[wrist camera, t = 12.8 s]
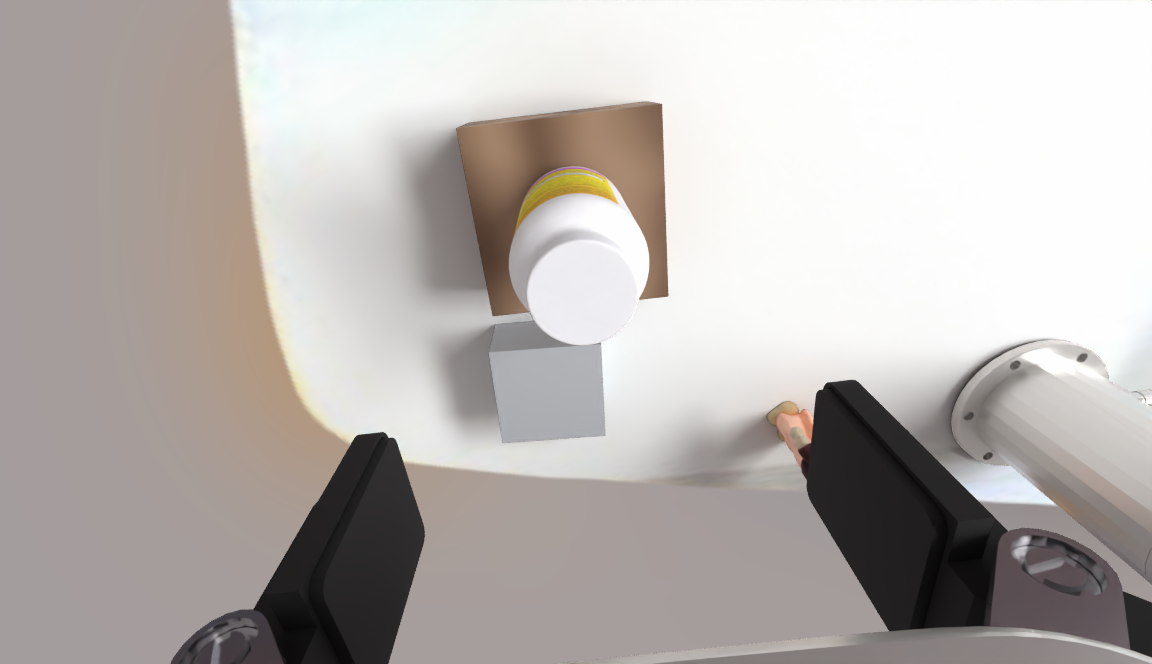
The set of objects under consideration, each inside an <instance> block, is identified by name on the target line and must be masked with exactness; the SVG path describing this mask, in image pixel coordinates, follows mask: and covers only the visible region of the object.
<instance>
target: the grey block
mask: <svg viewBox="0 0 1152 664" xmlns="http://www.w3.org/2000/svg"><path fill="white" fill-rule="evenodd" d="M489 359H490V365H491V372H492V378H493V384H494V391H495V397H496V404H497V410H498V416H499V423H500V429H501V436H502V442H503V443H511V442H525V441H539V440H552V439H566V438H580V437H594V436H605V417H604V397H603V376H602V355H601V342H600V343H597V344H591V345H572V344H567V343H563V342H561V341H558V340H556V339H554V338H552V337H551V336H549V335H548V334H546V333H545V332H544V331H543V330H542V329H540V327H539V326H538V325H537V324H536V323H535V321H530V322H516V323H502V324H496V325H495V329H494V333H493V337H492V341H491V345H490V348H489Z"/></svg>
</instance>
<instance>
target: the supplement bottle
mask: <svg viewBox="0 0 1152 664" xmlns="http://www.w3.org/2000/svg"><path fill="white" fill-rule="evenodd" d="M509 273H510V278H511V282H512V285H513V288H514V290H515V292H516V295H517V296H518V298H519V300H520V301H521V303H522V304H523V305H524V307H525V308H526V309H527V310H528V311H529V312H530V314H531V316H532V318H533V320H534V321H535V323H536V324H537V325H538V326H539V327H540V329H542V330H543V331H544V332H545V333H546V334H548V335H549V336H551V337H552V338H554V339H556V340H558V341H561V342H563V343H567V344H572V345H591V344H597V343H600V342H603V341H605V340H607V339H609V338H611V337H613V336H615V335H616V334H618V333H619V332H620V331H621V330H622V329H623V328H624V327H625V326H626V325H627V324H628V323H629V321H630V320H631V318H632V317H633V315H634V313H635V310H636V308H637V305H638V300H639V298H640V296H641V294H642V292H643V290H644V288H645V285H646V282H647V278H648V273H649V252H648V247H647V243H646V240H645V238H644V235H643V233H642V231H641V229H640V228H639V226H638V224H637V223H636V221H635V219H634V218H633V216H632V214H631V212H630V210H629V209H628V207H627V205H626V204H625V202H624V200H623V198H622V196H621V194H620V193H619V191H618V190H617V188H616V187H615V186H614V185H613V183H612V182H611V181H610V180H608V179H607V178H606V177H605V176H603V175H602V174H600V173H598V172H596V171H594V170H592V169H589V168H585V167H579V166H569V167H562V168H558V169H555V170H553V171H550V172H548V173H547V174H545V175H543V176H542V177H541V178H539V179H538V180H537V181H536V182H535V183H534V184H533V185H532V186H531V188H530V189H529V190H528V192H527V194H526V196H525V198H524V200H523V203H522V206H521V209H520V213H519V217H518V221H517V225H516V229H515V233H514V237H513V241H512V244H511V249H510V255H509Z"/></svg>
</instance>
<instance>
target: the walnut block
mask: <svg viewBox="0 0 1152 664" xmlns="http://www.w3.org/2000/svg"><path fill="white" fill-rule="evenodd" d="M456 130H457V136H458V141H459V146H460V151H461V156H462V161H463V166H464V171H465V177H466V182H467V187H468V192H469V197H470V202H471V207H472V213H473V218H474V223H475V228H476V233H477V238H478V243H479V249H480V254H481V259H482V264H483V269H484V274H485V279H486V285H487V290H488V295H489V300H490V305H491V310H492V315H493V316H499V315H508V314H516V313H525V312H529V311H528V310H527V309H526V308H525V307H524V305H523V304H522V303H521V301H520V300H519V298H518V296H517V295H516V292H515V290H514V288H513V285H512V282H511V278H510V273H509V255H510V249H511V244H512V241H513V237H514V233H515V229H516V225H517V221H518V217H519V213H520V209H521V206H522V203H523V200H524V198H525V196H526V194H527V192H528V190H529V189H530V188H531V186H532V185H533V184H534V183H535V182H536V181H537V180H538V179H539V178H541V177H542V176H543V175H545V174H547V173H548V172H550V171H553V170H555V169H558V168H562V167H569V166H579V167H585V168H589V169H592V170H594V171H596V172H598V173H600V174H602V175H603V176H605V177H606V178H607V179H608V180H610V181H611V182H612V183H613V185H614V186H615V187H616V188H617V190H618V191H619V193H620V194H621V196H622V198H623V200H624V202H625V204H626V205H627V207H628V209H629V210H630V212H631V214H632V216H633V218H634V219H635V221H636V223H637V224H638V226H639V228H640V229H641V231H642V233H643V235H644V238H645V240H646V243H647V247H648V252H649V273H648V278H647V282H646V285H645V288H644V290H643V292H642V294H641V296H640V298H639V300H641V299H650V298H658V297H667V296H668V274H667V243H666V212H665V182H664V151H663V120H662V104H659V103H654V102H639V103H631V104H622V105H614V106H606V107H597V108H589V109H580V110H572V111H563V112H555V113H547V114H538V115H530V116H521V117H513V118H505V119H496V120H488V121H479V122H471V123H467V124H465V125H463V126H461V127H458V128H456Z"/></svg>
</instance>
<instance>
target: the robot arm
mask: <svg viewBox="0 0 1152 664" xmlns="http://www.w3.org/2000/svg"><path fill="white" fill-rule="evenodd" d="M1151 406H1152V390H1142V391H1134V392H1130V391H1128V390H1126V389H1124V388H1122V387H1121V386H1119V385H1117V384H1115V383H1113V382H1111V381H1109V375H1108V372H1107V369H1106V366H1105V364H1104V363H1103V361H1102V360H1101V358H1100V357H1099V356H1097V355H1096V354H1095V353H1094V352H1092V351H1091V350H1089V349H1087V348H1085V347H1083V346H1081V345H1079V344H1076V343H1072V342H1069V341H1065V340H1045V341H1037V342H1033V343H1029V344H1025V345H1022V346H1019V347H1017V348H1015V349H1012V350H1010V351H1007V352H1006V353H1004V354H1002V355H1000V356H999V357H997V358H995V359H994V360H992V361H991V362H990V363H988V364H987V365H986V366H984V367H983V368H982V369H980V370H979V371H978V372H977V373H976V374H975V375H974V376H973V377H972V378H971V379H970V381H969V382H968V383H967V385H966V386H965V387H964V389H963V390H962V391H961V393H960V395H959V397H958V399H957V401H956V403H955V406H954V409H953V413H952V422H951V426H952V432H953V436H954V438H955V440H956V442H957V443H958V444H959V445H960V447H961V448H962V449H963V450H964V451H966V452H967V453H968V454H969V455H970V456H972V457H973V458H974V459H976V460H978V461H980V462H983V463H986V464H991V465H998V466H1011V467H1012V468H1014V469H1015V470H1016V471H1017V472H1018V473H1020V474H1021V475H1022V476H1023V477H1024V478H1026V479H1027V480H1028V481H1029V482H1030V483H1031V484H1033V485H1034V486H1035V487H1036V488H1037V489H1039V490H1040V491H1041V492H1042V493H1043V494H1045V495H1046V496H1047V497H1048V498H1049V499H1050V500H1052V501H1053V502H1054V503H1055V504H1056V505H1058V506H1059V507H1060V508H1061V509H1062V510H1064V511H1065V512H1066V513H1067V514H1068V515H1070V516H1071V517H1072V518H1073V519H1074V520H1075V521H1077V522H1078V523H1079V524H1080V525H1081V526H1083V527H1084V528H1085V529H1086V530H1087V531H1088V532H1090V533H1091V534H1092V535H1093V536H1094V537H1096V538H1097V539H1098V540H1099V541H1100V542H1102V543H1103V544H1104V545H1105V546H1106V547H1108V548H1109V549H1110V550H1111V551H1112V552H1113V553H1115V554H1116V555H1117V556H1118V557H1120V558H1121V559H1122V560H1123V561H1124V562H1125V563H1127V564H1128V565H1129V566H1130V567H1132V569H1134V570H1135V571H1136V572H1137V573H1138V574H1140V575H1141V576H1142V577H1143V578H1144V579H1146V580H1147V581H1148V582H1149V583H1150V584H1151V585H1152V407H1151ZM807 492H808V496H809V499H810V500H811V503H812V504H813V506H814V508H815V509H816V511H817V513H818V514H819V516H820V518H821V519H822V521H823V523H824V524H825V526H826V527H827V529H828V531H829V532H830V534H831V536H832V537H833V539H834V541H835V542H836V544H837V546H838V547H839V549H840V550H841V552H842V554H843V555H844V557H845V559H846V561H847V562H848V564H849V565H850V567H851V569H852V570H853V572H854V574H855V575H856V577H857V579H858V580H859V582H860V583H861V585H862V587H863V588H864V590H865V592H866V594H867V595H868V597H869V599H870V600H871V602H872V604H873V605H874V607H875V608H876V610H877V612H878V613H879V615H880V617H881V618H882V620H883V622H884V623H885V625H886V626H887V628H888V630H889V631H888V632H875V633H863V634H850V635H840V636H829V637H818V638H808V639H798V640H788V641H776V642H766V643H755V644H746V645H735V646H724V647H714V648H704V649H694V650H684V651H675V652H664V653H654V654H645V655H634V656H625V657H615V658H605V659H595V660H585V661H576V662H566V663H556V664H1152V603H1151V602H1149V601H1146V600H1144V599H1141V598H1139V597H1136V596H1133V595H1131V594H1128V593H1126V592H1123V589H1122V585H1121V582H1120V580H1119V577H1118V575H1117V573H1116V572H1115V571H1114V570H1113V568H1112V567H1111V566H1110V565H1109V564H1108V563H1107V561H1105V560H1104V559H1103V558H1101V557H1100V556H1099V555H1098V554H1096V553H1095V552H1094V551H1093V550H1091V549H1089V548H1088V547H1086V546H1084V545H1082V544H1080V543H1079V542H1077V541H1075V540H1073V539H1070V538H1068V537H1065V536H1063V535H1060V534H1058V533H1054V532H1050V531H1046V530H1042V529H1034V528H1019V529H1014V530H1010V531H1007V530H1006V529H1005V528H1004V527H1003V526H1002V525H1001V524H1000V523H999V522H998V521H997V520H996V519H995V517H994V516H993V515H992V514H991V513H990V512H989V511H987V509H986V508H985V507H984V506H983V505H982V504H981V503H980V502H979V501H978V500H977V499H976V498H975V497H974V496H973V495H972V494H970V493H969V492H968V491H967V490H966V489H965V488H964V487H963V486H962V485H961V484H960V483H959V482H958V481H957V480H956V479H955V478H954V477H953V476H952V475H951V474H950V473H949V472H948V471H947V470H946V469H945V468H944V467H943V466H942V465H941V464H940V463H939V462H938V461H937V460H936V459H935V458H934V457H933V456H932V455H931V454H930V453H929V452H928V451H927V450H926V449H925V448H924V447H923V446H922V445H921V444H920V443H919V442H918V441H917V440H916V439H915V438H914V437H913V436H912V435H911V434H910V433H909V432H908V431H907V430H906V429H905V428H904V427H903V426H902V425H901V424H900V423H899V422H898V421H897V420H896V419H895V418H894V417H893V416H892V415H891V414H890V413H889V412H888V411H887V410H886V409H885V408H884V407H883V406H882V405H881V404H880V403H879V402H878V401H877V400H876V399H875V398H874V397H873V396H872V395H871V394H870V393H869V392H868V391H867V390H866V389H865V388H864V387H863V386H862V385H861V384H860V383H859V382H857V381H856V380H846V381H838V382H829V383H826V384H825V386H824V388H823V390H819V391H818V392H817V394H816V400H815V409H814V419H813V429H812V438H811V448H810V457H809V467H808V476H807ZM424 533H425V531H424V526H423V522H422V519H421V516H420V513H419V510H418V507H417V503H416V500H415V497H414V494H413V491H412V488H411V485H410V482H409V479H408V476H407V472H406V469H405V466H404V463H403V460H402V457H401V454H400V451H399V448H398V445H397V442H396V440H395V439H394V438H388V436H387V435H386V433H384V432H380V433H371V434H362V435H357V436H356V437H355V438H354V440H353V442H352V443H351V445H350V447H349V449H348V450H347V452H346V454H345V456H344V457H343V459H342V461H341V463H340V464H339V466H338V468H337V470H336V471H335V473H334V475H333V476H332V478H331V480H330V482H329V483H328V485H327V487H326V489H325V490H324V492H323V494H322V495H321V497H320V499H319V501H318V502H317V503H316V504H315V505H314V506H313V508H312V510H311V511H310V513H309V515H308V517H307V518H306V520H305V522H304V523H303V525H302V527H301V529H300V530H299V532H298V534H297V536H296V537H295V539H294V540H293V542H292V544H291V546H290V548H289V550H288V551H287V553H286V554H285V556H284V558H283V560H282V561H281V563H280V565H279V566H278V568H277V570H276V571H275V573H274V575H273V577H272V579H271V580H270V582H269V583H268V585H267V587H266V589H265V590H264V592H263V594H262V596H261V597H260V599H259V601H258V602H257V604H256V606H255V608H254V609H253V610H252V609H250V610H238V611H234V612H231V613H227V614H225V615H223V616H221V617H219V618H217V619H215V620H213V621H211V622H209V623H208V624H207V625H205V626H204V627H202V628H201V629H200V630H198V631H197V632H196V633H195V634H194V635H192V636H191V637H190V638H189V639H188V640H187V641H186V642H185V643H184V644H183V645H182V647H181V648H180V649H179V651H178V652H177V653H176V655H175V656H174V657H173V659H172V661H171V664H388V663H389V659H390V656H391V653H392V649H393V646H394V642H395V639H396V635H397V632H398V629H399V625H400V622H401V619H402V615H403V612H404V608H405V605H406V602H407V598H408V595H409V591H410V588H411V585H412V581H413V578H414V574H415V571H416V567H417V564H418V561H419V557H420V554H421V550H422V547H423V543H424V537H425V534H424Z"/></svg>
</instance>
